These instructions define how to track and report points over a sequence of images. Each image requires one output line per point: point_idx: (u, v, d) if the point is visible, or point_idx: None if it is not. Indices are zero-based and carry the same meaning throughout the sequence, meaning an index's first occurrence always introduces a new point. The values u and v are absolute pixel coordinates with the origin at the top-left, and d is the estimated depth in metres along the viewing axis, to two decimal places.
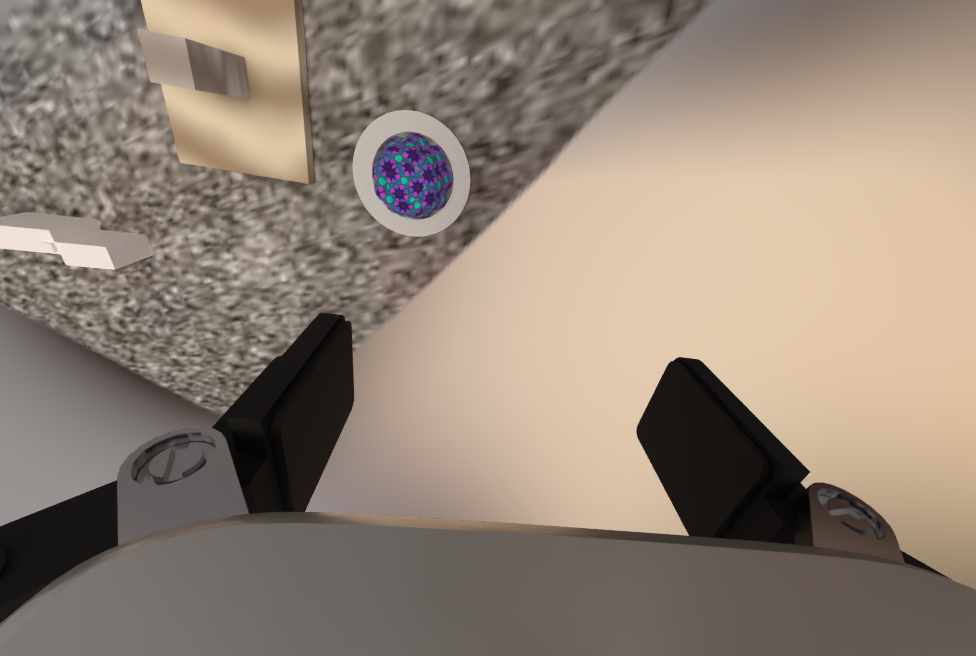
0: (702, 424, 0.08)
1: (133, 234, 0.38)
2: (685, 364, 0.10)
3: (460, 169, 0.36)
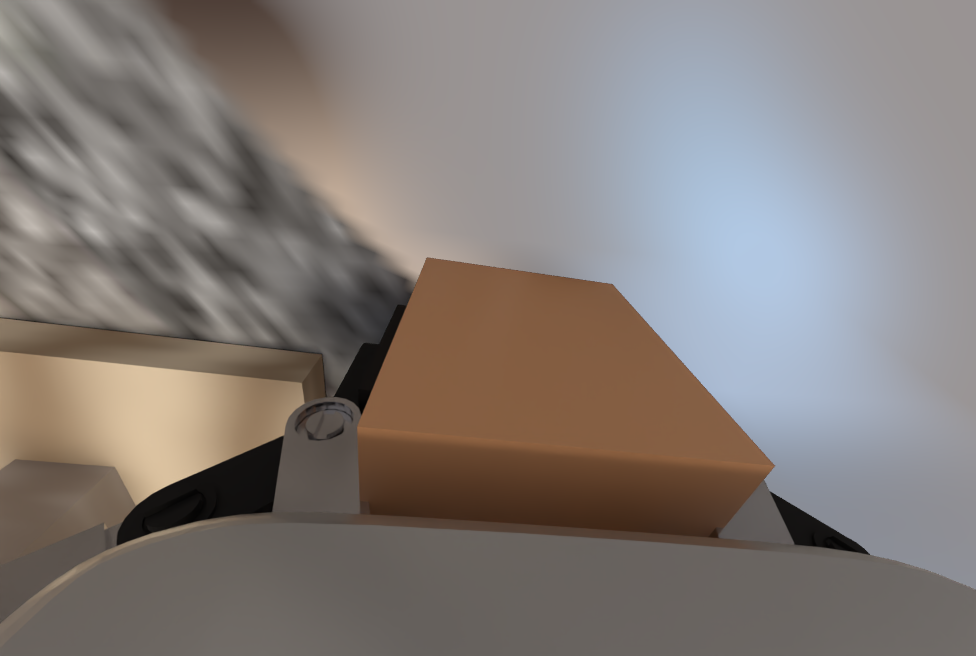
0: None
1: None
2: None
3: None
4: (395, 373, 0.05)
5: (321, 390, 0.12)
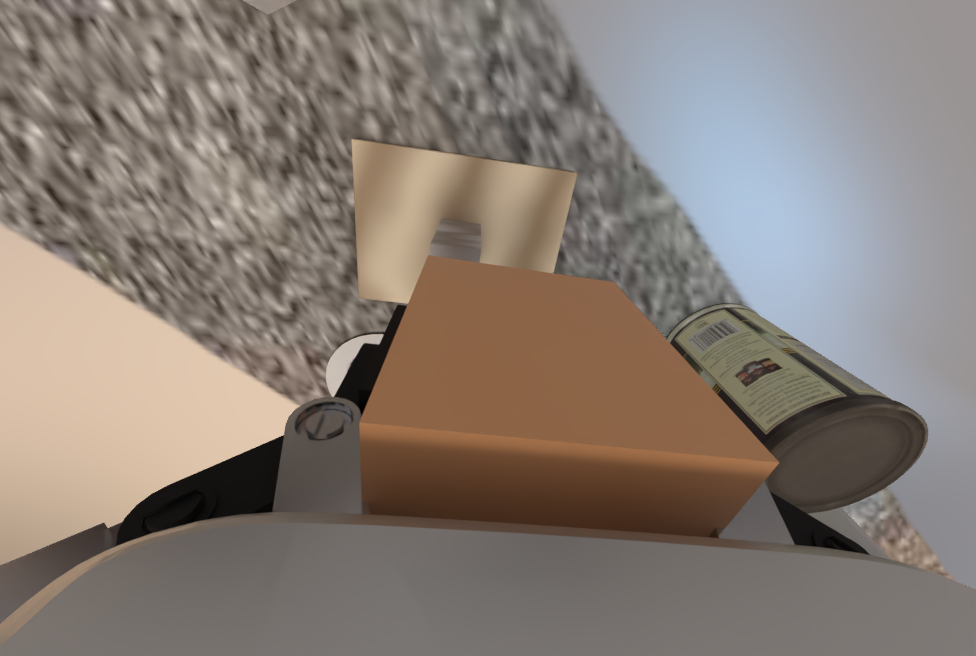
0: None
1: None
2: None
3: None
4: (397, 369, 0.05)
5: None
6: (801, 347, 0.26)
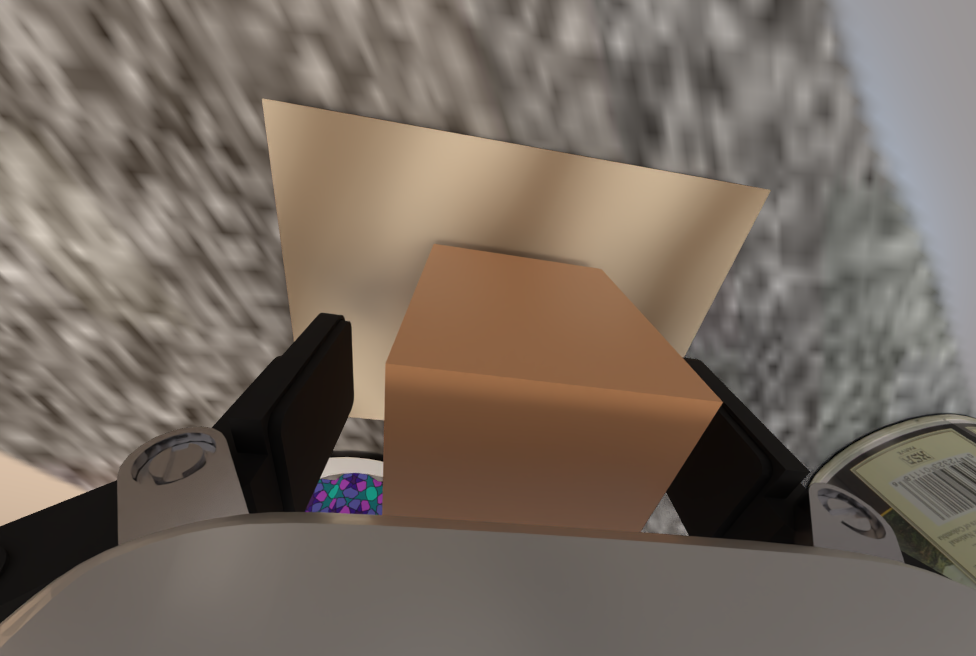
0: None
1: None
2: None
3: None
4: (412, 329, 0.06)
5: None
6: None
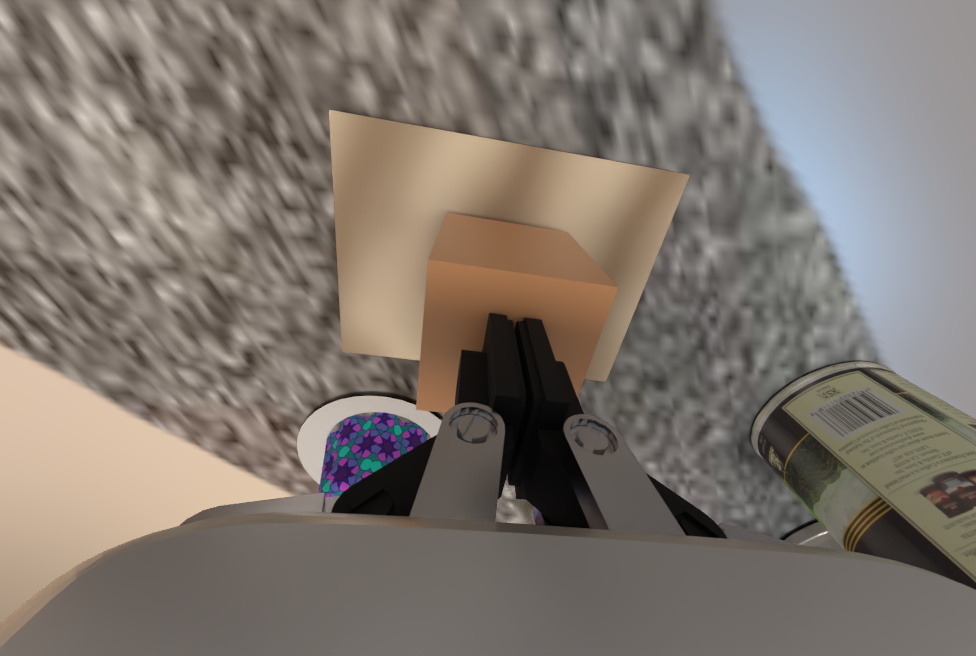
0: None
1: None
2: (525, 323, 0.10)
3: None
4: (440, 249, 0.11)
5: None
6: None
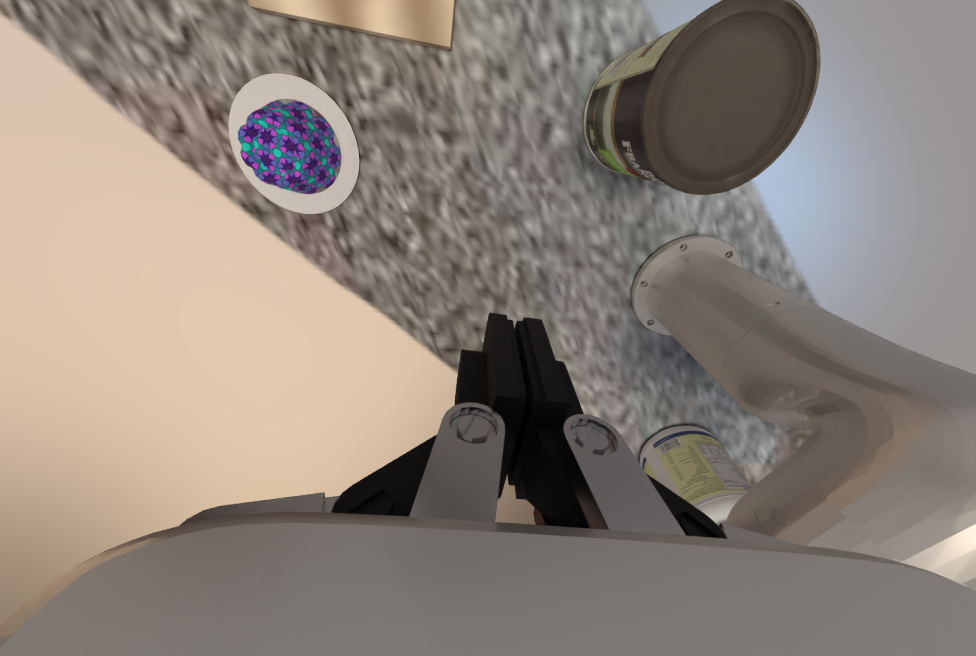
0: None
1: None
2: (525, 323, 0.10)
3: (285, 198, 0.36)
4: None
5: None
6: None
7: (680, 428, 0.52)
